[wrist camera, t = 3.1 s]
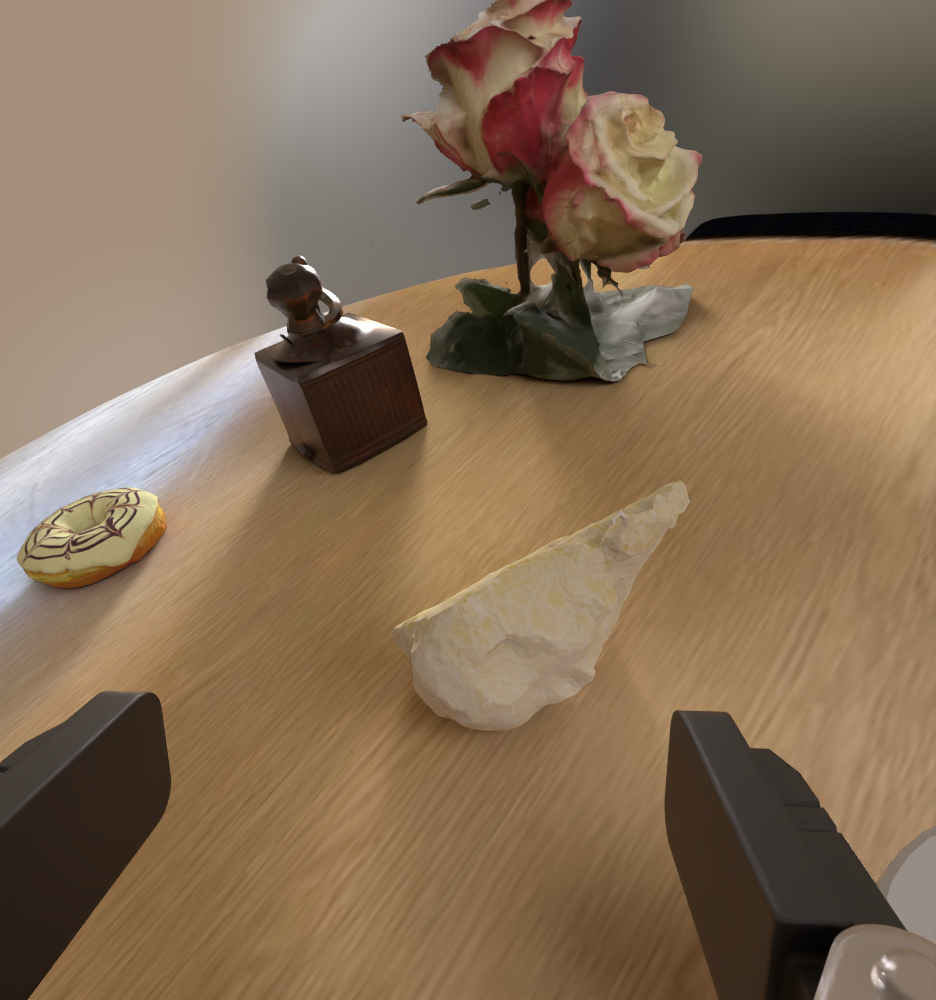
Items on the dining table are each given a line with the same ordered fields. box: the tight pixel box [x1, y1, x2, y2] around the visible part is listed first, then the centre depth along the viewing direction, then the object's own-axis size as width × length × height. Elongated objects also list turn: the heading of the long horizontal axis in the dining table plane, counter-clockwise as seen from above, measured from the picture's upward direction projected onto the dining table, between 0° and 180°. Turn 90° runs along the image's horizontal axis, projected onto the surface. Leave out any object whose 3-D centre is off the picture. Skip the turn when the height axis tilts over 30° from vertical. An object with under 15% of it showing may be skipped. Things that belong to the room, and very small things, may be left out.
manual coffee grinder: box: [255, 256, 427, 473], centre depth 53 cm, size 16×11×18 cm
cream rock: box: [393, 480, 690, 731], centre depth 32 cm, size 15×7×15 cm
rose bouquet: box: [370, 0, 702, 382], centre depth 61 cm, size 26×29×30 cm
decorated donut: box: [17, 487, 167, 588], centre depth 51 cm, size 10×11×4 cm
